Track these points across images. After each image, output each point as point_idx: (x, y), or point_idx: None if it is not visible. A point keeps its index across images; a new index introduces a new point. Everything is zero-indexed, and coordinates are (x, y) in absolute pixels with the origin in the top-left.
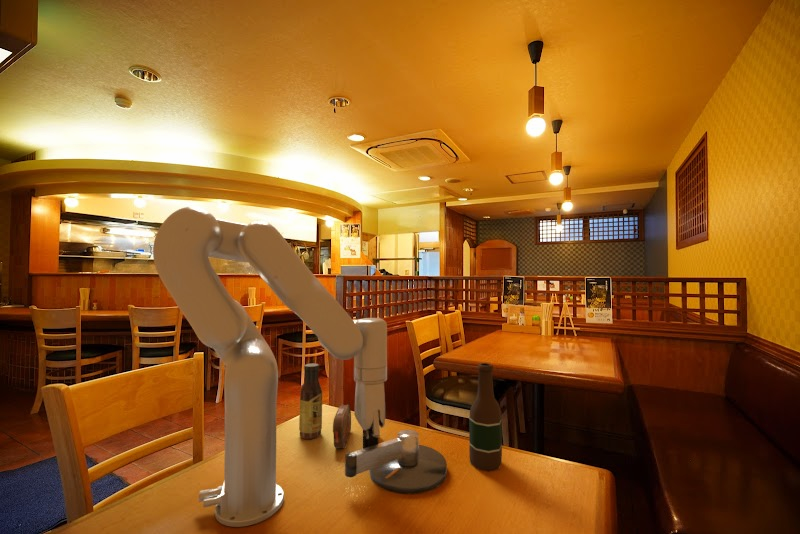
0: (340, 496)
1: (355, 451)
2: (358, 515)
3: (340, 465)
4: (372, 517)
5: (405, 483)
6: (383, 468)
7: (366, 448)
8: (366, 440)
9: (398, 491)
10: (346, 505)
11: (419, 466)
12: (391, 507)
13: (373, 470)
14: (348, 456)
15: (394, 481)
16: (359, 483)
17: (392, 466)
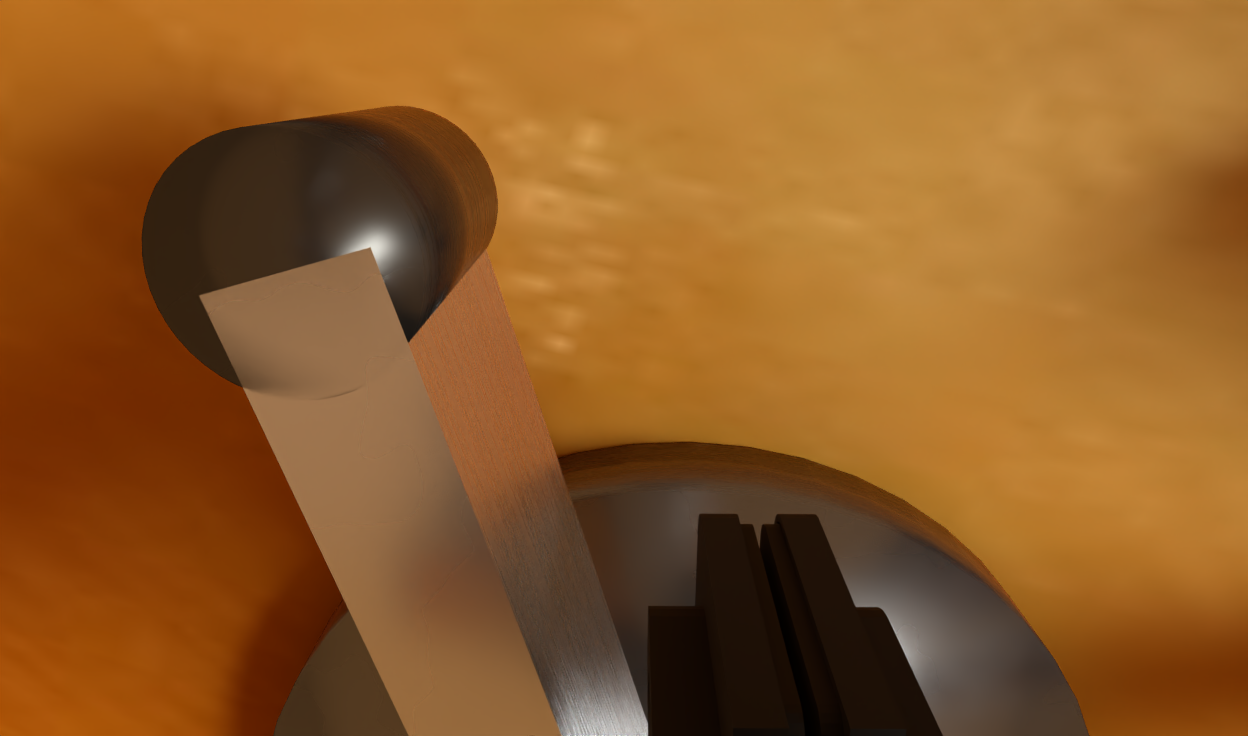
0: (443, 33)
1: (430, 403)
2: (69, 161)
3: (1114, 168)
4: (24, 288)
5: (295, 720)
6: (645, 616)
7: (495, 633)
8: (726, 728)
9: (335, 613)
10: (258, 69)
11: None
12: (150, 487)
13: (647, 509)
14: (225, 198)
15: (355, 643)
16: (627, 304)
17: (647, 706)
